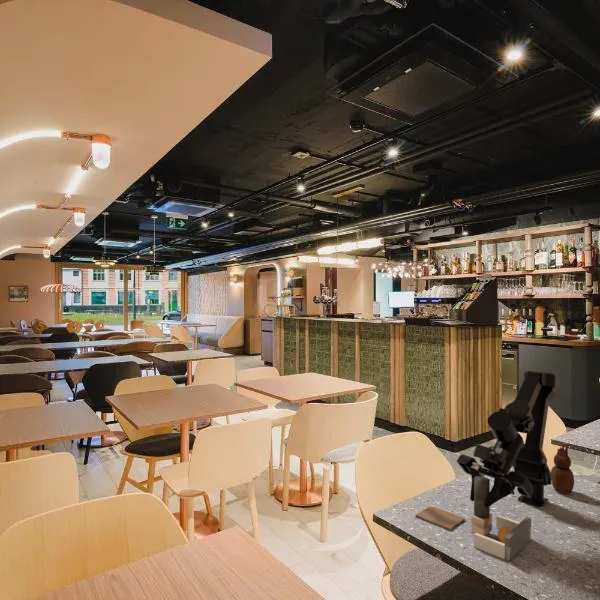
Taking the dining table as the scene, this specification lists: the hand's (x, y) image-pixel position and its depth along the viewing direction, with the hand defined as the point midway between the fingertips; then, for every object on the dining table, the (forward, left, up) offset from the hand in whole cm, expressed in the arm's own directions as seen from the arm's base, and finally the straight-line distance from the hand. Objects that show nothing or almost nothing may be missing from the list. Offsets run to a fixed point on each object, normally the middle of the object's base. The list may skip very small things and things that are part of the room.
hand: (478, 503), depth 109 cm
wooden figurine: (-45, +7, -8) cm, 47 cm away
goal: (-1, +6, -8) cm, 10 cm away
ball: (-1, +6, -6) cm, 9 cm away
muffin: (-43, -7, -8) cm, 45 cm away
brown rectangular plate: (-1, -10, -8) cm, 13 cm away
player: (-1, 0, -8) cm, 8 cm away
